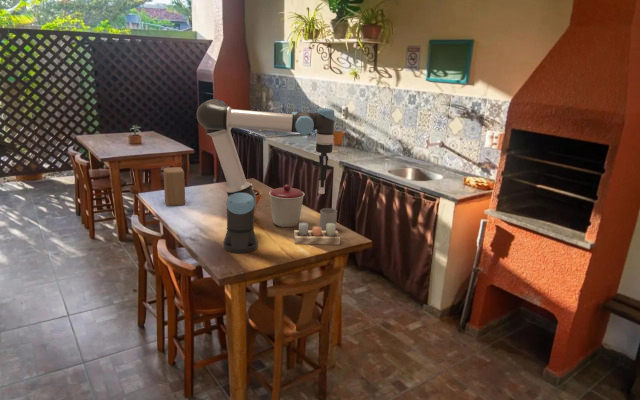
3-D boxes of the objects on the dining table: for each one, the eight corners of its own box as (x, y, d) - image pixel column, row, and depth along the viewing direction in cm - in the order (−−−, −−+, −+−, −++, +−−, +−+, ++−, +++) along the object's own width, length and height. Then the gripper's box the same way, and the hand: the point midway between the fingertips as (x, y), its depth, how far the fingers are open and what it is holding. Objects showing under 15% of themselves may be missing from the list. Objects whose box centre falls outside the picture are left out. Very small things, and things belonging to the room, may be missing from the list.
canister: (261, 225, 229) (261, 185, 223) (280, 216, 245) (281, 178, 239) (291, 232, 221) (293, 191, 215) (309, 222, 237) (311, 183, 231)
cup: (317, 227, 231) (318, 208, 228) (331, 225, 234) (333, 207, 231) (323, 232, 223) (324, 213, 221) (338, 231, 226) (339, 212, 223)
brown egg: (312, 239, 211) (312, 229, 209) (311, 236, 215) (312, 226, 214) (321, 239, 211) (322, 229, 210) (320, 236, 216) (321, 226, 214)
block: (164, 201, 258) (163, 167, 252) (182, 200, 262) (181, 166, 256) (167, 206, 249) (165, 171, 244) (185, 205, 254) (184, 170, 248)
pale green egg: (326, 236, 211) (327, 226, 210) (325, 232, 215) (325, 222, 214) (335, 236, 212) (336, 226, 210) (334, 232, 216) (335, 223, 214)
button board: (294, 243, 208) (295, 237, 207) (293, 236, 217) (294, 230, 216) (339, 244, 210) (340, 238, 209) (337, 236, 219) (337, 230, 219)
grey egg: (298, 235, 210) (299, 225, 208) (298, 232, 214) (298, 222, 212) (308, 235, 210) (308, 225, 209) (307, 232, 214) (307, 222, 213)
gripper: (334, 146, 198) (330, 197, 205) (331, 141, 210) (328, 189, 217) (317, 145, 197) (314, 197, 204) (315, 140, 210) (312, 189, 216)
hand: (321, 193), depth 211 cm, fingers closed
